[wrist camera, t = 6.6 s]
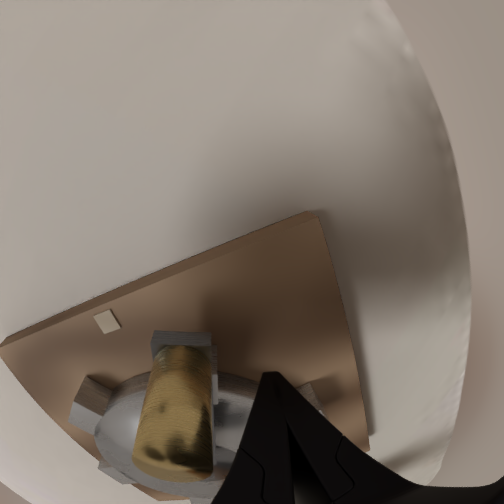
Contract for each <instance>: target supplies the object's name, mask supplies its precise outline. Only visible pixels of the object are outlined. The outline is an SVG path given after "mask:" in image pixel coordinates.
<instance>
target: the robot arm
mask: <svg viewBox="0 0 504 504" xmlns="http://www.w3.org/2000/svg"><path fill="white" fill-rule="evenodd" d="M211 504H504V476H503V477H502V478H500V479H499V480H498V481H496V482H495V483H492V484H490V485H486V486H480V487H436V486H435V487H434V486H424V485H419V484H416V483H413V482H411V481H408V480H407V479H405V478H403V477H401V476H400V475H398V474H396V473H395V472H393V471H392V470H390V469H388V468H387V467H385V466H384V465H382V464H381V463H379V462H378V461H376V460H375V459H373V458H372V457H370V456H369V455H368V454H366V453H365V452H363V451H362V450H361V449H360V448H359V447H357V446H356V445H355V444H354V443H353V442H351V441H350V440H349V439H348V438H347V437H346V436H345V435H343V434H342V433H341V432H340V431H339V430H338V429H337V428H336V427H335V426H334V425H333V424H332V423H331V422H330V421H328V420H327V419H326V418H325V417H324V416H323V415H322V414H321V413H320V412H319V411H318V410H317V409H316V408H315V407H314V406H313V405H312V404H311V403H310V402H309V401H308V400H307V399H306V398H305V397H304V396H303V395H302V394H301V393H300V392H299V391H298V390H297V389H296V388H295V387H294V386H293V385H292V384H291V383H290V382H289V381H288V380H287V379H286V378H285V377H284V376H283V375H282V374H281V373H280V372H278V371H268V372H263V373H262V376H261V379H260V382H259V386H258V389H257V392H256V395H255V398H254V402H253V405H252V408H251V411H250V414H249V417H248V420H247V423H246V426H245V429H244V432H243V435H242V438H241V441H240V444H239V448H238V449H237V452H236V455H235V458H234V460H233V463H232V465H231V468H230V470H229V472H228V474H227V476H226V478H225V480H224V482H223V484H222V486H221V487H220V489H219V491H218V492H217V494H216V496H215V497H214V499H213V500H212V502H211Z"/></svg>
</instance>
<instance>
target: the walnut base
mask: <svg viewBox="0 0 504 504" xmlns="http://www.w3.org/2000/svg"><path fill="white" fill-rule="evenodd" d="M154 330H158V331H180V332H211V345H217V372H222V373H227V374H232V375H236V376H240V377H243V378H247V379H250V380H253V381H255V382H258V383H259V382H260V379H261V376H262V373H263V372H268V371H278V372H280V373H281V374H282V375H283V376H284V377H285V378H286V379H287V380H288V381H289V382H290V383H291V384H292V385H293V386H294V387H295V388H296V389H297V388H299V387H301V386H304V385H306V384H308V383H310V384H311V386H312V388H313V389H314V391H315V393H316V394H317V396H318V398H319V400H320V401H321V403H322V405H323V407H324V409H325V412H326V414H327V416H328V419H329V421H330V422H331V423H332V424H333V425H334V426H335V427H336V428H337V429H338V430H339V431H340V432H341V433H342V434H343V435H345V436H346V437H347V438H348V439H349V440H350V441H351V442H353V443H354V444H355V445H356V446H357V447H359V448H360V449H361V450H362V451H363V452H367V451H369V450H370V445H369V438H368V430H367V423H366V417H365V411H364V404H363V398H362V393H361V387H360V382H359V376H358V371H357V366H356V361H355V356H354V351H353V347H352V342H351V337H350V333H349V328H348V324H347V320H346V316H345V311H344V307H343V303H342V299H341V295H340V291H339V287H338V284H337V280H336V276H335V272H334V269H333V265H332V261H331V258H330V254H329V251H328V247H327V244H326V240H325V237H324V234H323V230H322V227H321V224H320V221H319V217H317V216H315V215H314V214H312V213H310V212H308V211H305V212H303V213H300V214H298V215H295V216H293V217H290V218H287V219H285V220H282V221H280V222H277V223H275V224H272V225H270V226H267V227H265V228H262V229H260V230H257V231H255V232H252V233H250V234H247V235H245V236H242V237H240V238H237V239H235V240H232V241H230V242H227V243H225V244H222V245H220V246H217V247H215V248H212V249H210V250H207V251H205V252H203V253H200V254H198V255H195V256H193V257H190V258H188V259H186V260H183V261H181V262H178V263H176V264H173V265H171V266H169V267H166V268H164V269H162V270H159V271H157V272H154V273H152V274H150V275H147V276H145V277H142V278H140V279H138V280H135V281H133V282H131V283H128V284H126V285H124V286H121V287H119V288H117V289H114V290H112V291H110V292H107V293H105V294H103V295H100V296H98V297H96V298H94V299H91V300H89V301H87V302H84V303H82V304H80V305H77V306H75V307H73V308H71V309H68V310H66V311H64V312H62V313H59V314H57V315H55V316H53V317H50V318H48V319H46V320H44V321H42V322H39V323H37V324H35V325H33V326H30V327H28V328H26V329H24V330H22V331H19V332H17V333H15V334H13V335H11V336H9V337H6V338H5V340H4V341H3V342H2V343H1V344H0V357H1V358H2V360H3V361H4V362H5V364H6V365H7V367H8V368H9V369H10V371H11V372H12V373H13V375H14V376H15V377H16V378H17V380H18V381H19V382H20V383H21V385H22V386H23V387H24V388H25V390H26V391H27V392H28V393H29V394H30V395H31V397H32V398H33V399H34V400H35V401H36V402H37V403H38V405H39V406H40V407H41V408H42V409H43V410H44V411H45V412H46V413H47V414H48V415H49V416H50V417H51V418H52V419H53V420H54V421H55V422H56V423H57V424H58V425H59V426H60V427H61V428H62V429H63V430H64V431H65V432H66V433H67V434H68V435H69V436H70V437H71V438H72V439H74V440H75V441H76V442H77V443H78V444H79V445H80V446H81V447H83V448H84V449H85V450H86V451H87V452H89V453H90V454H91V455H92V456H93V457H95V458H96V459H97V460H98V461H100V458H101V453H100V452H99V450H98V448H97V446H96V443H95V439H94V435H92V434H90V433H88V432H86V431H84V430H82V429H80V428H78V427H76V426H74V425H72V424H71V423H69V422H68V419H69V415H70V411H71V408H72V404H73V401H74V399H75V396H76V394H77V392H78V390H79V388H80V386H81V384H82V382H83V380H84V378H85V376H87V377H89V378H90V379H92V380H94V381H96V382H98V383H100V384H101V385H103V386H105V387H107V388H109V389H111V390H113V389H114V388H115V387H116V386H118V385H119V384H121V383H122V382H124V381H126V380H128V379H130V378H133V377H135V376H139V375H142V374H145V373H150V372H151V370H152V366H153V358H152V352H151V346H150V342H151V339H152V336H153V333H154ZM132 485H133V486H135V487H136V488H138V489H139V490H141V491H143V492H144V493H146V494H148V495H149V496H151V497H153V498H154V499H156V500H158V501H168V500H185V499H189V497H184V496H178V495H173V494H168V493H164V492H161V491H158V490H154V489H152V488H149V487H146V486H144V485H141V484H139V483H133V484H132Z"/></svg>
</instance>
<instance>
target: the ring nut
mask: <svg viewBox="0 0 504 504" xmlns="http://www.w3.org/2000/svg"><path fill="white" fill-rule="evenodd" d="M150 346H151V352H152V358H153V366H152V370H151V372H150V373H145V374H142V375H139V376H135V377H133V378H130V379H128V380H126V381H124V382H122V383H121V384H119V385H118V386H116V387H115V388H114V389H113V390H111V389H109V388H107V387H105V386H103V385H101V384H100V383H98V382H96V381H94V380H92V379H90V378H89V377H87V376H85V378H84V380H83V382H82V384H81V386H80V388H79V390H78V392H77V394H76V396H75V399H74V401H73V404H72V408H71V411H70V415H69V419H68V422H69V423H71V424H72V425H74V426H76V427H78V428H80V429H82V430H84V431H86V432H88V433H90V434H92V435H94V439H95V443H96V446H97V448H98V450H99V452H100V453H101V458H100V462H99V466H98V469H99V470H101V471H102V472H104V473H105V474H107V475H108V476H110V477H112V478H113V479H115V480H116V481H118V482H120V483H121V484H133V483H139V484H141V485H144V486H146V487H149V488H152V489H154V490H158V491H161V492H164V493H168V494H173V495H178V496H184V497H189V499H190V501H191V504H211V502H212V500H213V499H214V497H215V496H216V494H217V492H218V491H219V489H220V487H221V486H222V484H223V482H224V480H225V478H226V476H227V474H228V472H229V470H230V468H231V465H232V463H233V460H234V458H235V455H236V452H237V449H238V448H239V444H240V441H241V438H242V435H243V432H244V429H245V426H246V423H247V420H248V417H249V414H250V411H251V408H252V405H253V402H254V398H255V395H256V392H257V389H258V386H259V383H258V382H255V381H253V380H250V379H247V378H243V377H240V376H236V375H232V374H227V373H222V372H217V345H211V332H180V331H158V330H154V333H153V336H152V339H151V342H150ZM297 390H298V391H299V392H300V393H301V394H302V395H303V396H304V397H305V398H306V399H307V400H308V401H309V402H310V403H311V404H312V405H313V406H314V407H315V408H316V409H317V410H318V411H319V412H320V413H321V414H322V415H323V416H324V417H325V418H326V419H327V420H328V421H329V419H328V416H327V414H326V412H325V409H324V407H323V405H322V403H321V401H320V400H319V398H318V396H317V394H316V393H315V391H314V389H313V388H312V386H311V384H310V383H308V384H306V385H304V386H301V387H299V388H297Z"/></svg>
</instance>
